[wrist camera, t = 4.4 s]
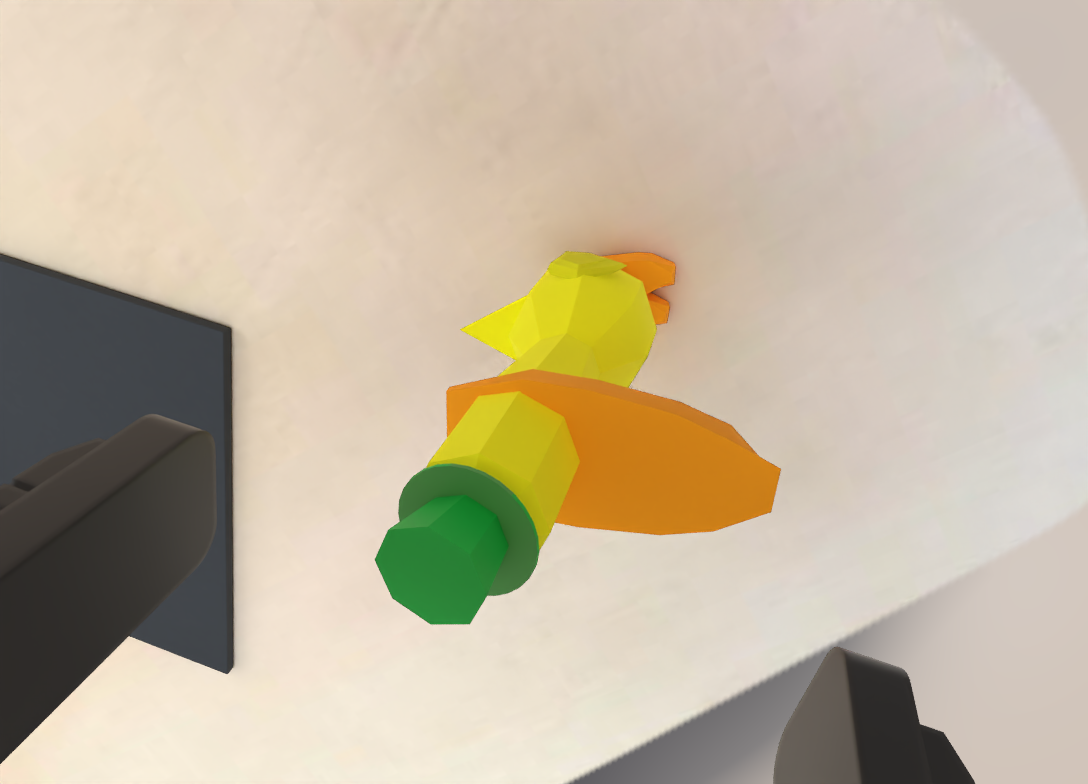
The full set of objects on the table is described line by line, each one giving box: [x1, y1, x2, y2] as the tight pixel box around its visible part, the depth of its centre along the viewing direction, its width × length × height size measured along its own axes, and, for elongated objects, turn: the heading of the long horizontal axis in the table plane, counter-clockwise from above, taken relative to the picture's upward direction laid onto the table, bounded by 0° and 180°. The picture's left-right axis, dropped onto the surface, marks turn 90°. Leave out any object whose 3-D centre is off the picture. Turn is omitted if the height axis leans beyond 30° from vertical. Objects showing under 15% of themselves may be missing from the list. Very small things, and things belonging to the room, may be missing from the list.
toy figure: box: [375, 251, 781, 624], centre depth 14 cm, size 7×4×12 cm, turn 87°
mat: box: [0, 254, 233, 674], centre depth 28 cm, size 16×16×1 cm
